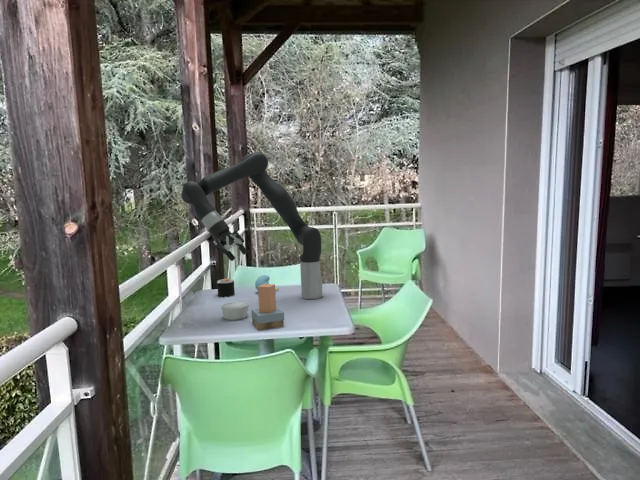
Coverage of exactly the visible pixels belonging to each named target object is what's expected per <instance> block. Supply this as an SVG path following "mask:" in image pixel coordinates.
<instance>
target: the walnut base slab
mask: <svg viewBox="0 0 640 480" xmlns="http://www.w3.org/2000/svg"><path fill="white" fill-rule="evenodd" d="M284 320H285V319H284ZM284 320H281V321H274V322H267V323H261V324H259V323H257V322H256V321H255V320H254V319H253V318H252V317H251V322H252V324H253V326H254V327H255V328H256V330H257V331H263V330H269V329H270V328H271V329H276V328H275V327H278V328H284V327H285V323H284ZM283 326H284V327H283Z"/></svg>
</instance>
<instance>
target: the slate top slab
mask: <svg viewBox="0 0 640 480" xmlns="http://www.w3.org/2000/svg"><path fill="white" fill-rule="evenodd" d="M252 318H253V319H254V320H255V321H256V322H257V323H259V324H261V323H267V322H274V321H281V320H285V312H284V311H283V310H281V309H280V308H279V307H278V306H276V310H275V311H273V312H272V313H265V312H259V308H256V309H251V319H252Z"/></svg>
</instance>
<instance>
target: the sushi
mask: <svg viewBox="0 0 640 480" xmlns="http://www.w3.org/2000/svg"><path fill="white" fill-rule="evenodd" d="M216 285H217V297H218V296H219V298H228V297H229V296H230V297H234V296H235V280H234V279H233V278H223V279H219V280H217V281H216Z"/></svg>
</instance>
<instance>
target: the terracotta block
mask: <svg viewBox="0 0 640 480" xmlns="http://www.w3.org/2000/svg"><path fill="white" fill-rule="evenodd" d="M275 288H276V284H274V283H269V284H262V285H260V286H258V290H257V294H258V295H257V296H258V298H257V299H258V309H259V312H265V313H272V312H273V311H275V310H276V307H277V297H276V294H277V293H276V291H275Z"/></svg>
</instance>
